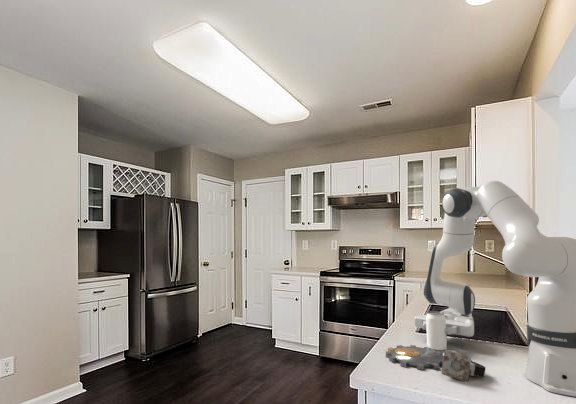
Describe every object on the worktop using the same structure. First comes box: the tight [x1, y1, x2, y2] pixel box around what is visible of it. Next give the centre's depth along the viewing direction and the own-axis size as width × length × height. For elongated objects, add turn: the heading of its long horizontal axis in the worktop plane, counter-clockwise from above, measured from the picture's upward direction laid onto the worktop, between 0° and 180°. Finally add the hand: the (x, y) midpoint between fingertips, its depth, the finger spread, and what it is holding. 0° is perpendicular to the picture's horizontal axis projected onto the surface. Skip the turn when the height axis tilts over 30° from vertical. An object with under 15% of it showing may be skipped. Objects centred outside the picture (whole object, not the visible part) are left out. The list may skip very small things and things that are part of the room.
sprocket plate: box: [385, 344, 444, 371], centre depth 112 cm, size 19×19×1 cm
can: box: [425, 310, 448, 352], centre depth 122 cm, size 6×6×12 cm
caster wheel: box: [441, 349, 486, 383], centre depth 99 cm, size 7×11×10 cm
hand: (435, 329), depth 122 cm, fingers closed on can, 6 cm apart
